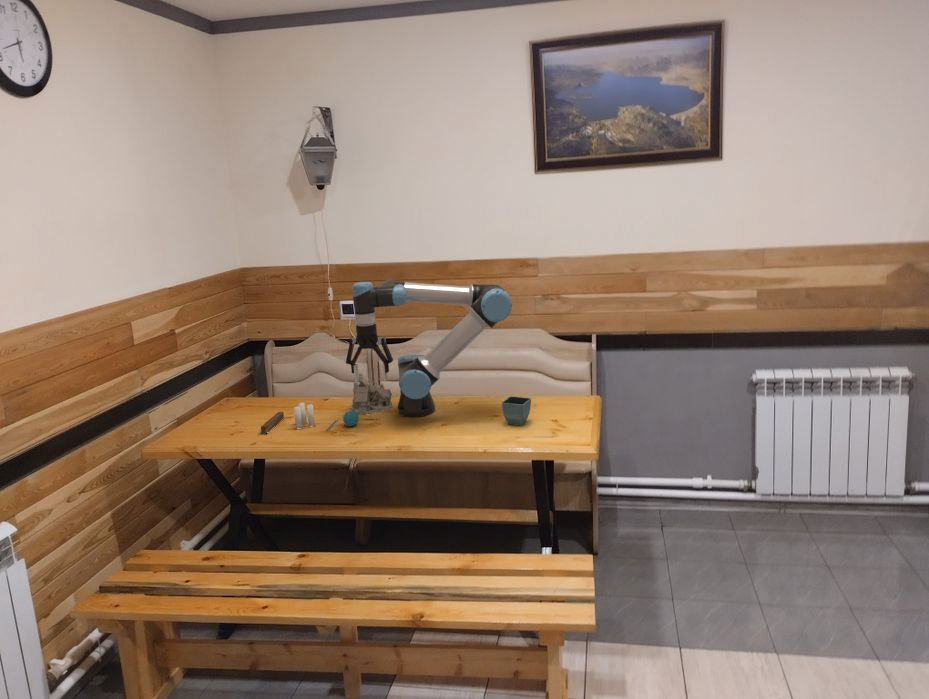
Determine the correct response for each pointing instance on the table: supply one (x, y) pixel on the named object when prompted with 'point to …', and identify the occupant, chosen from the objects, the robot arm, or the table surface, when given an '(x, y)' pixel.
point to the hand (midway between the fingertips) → (371, 381)
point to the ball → (350, 418)
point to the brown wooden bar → (272, 422)
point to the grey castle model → (370, 397)
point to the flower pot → (516, 409)
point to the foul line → (331, 425)
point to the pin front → (310, 415)
